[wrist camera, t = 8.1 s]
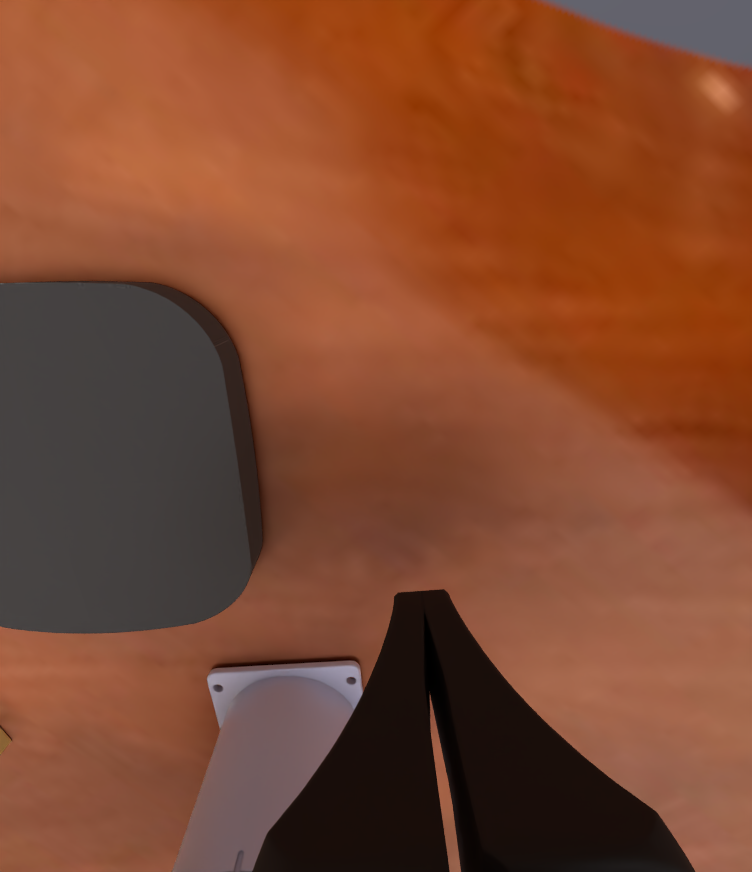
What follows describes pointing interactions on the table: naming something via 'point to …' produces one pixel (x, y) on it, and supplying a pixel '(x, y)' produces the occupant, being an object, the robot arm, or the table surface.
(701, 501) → the table surface
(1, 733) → the sticky note pad
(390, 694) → the robot arm
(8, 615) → the media streaming box
